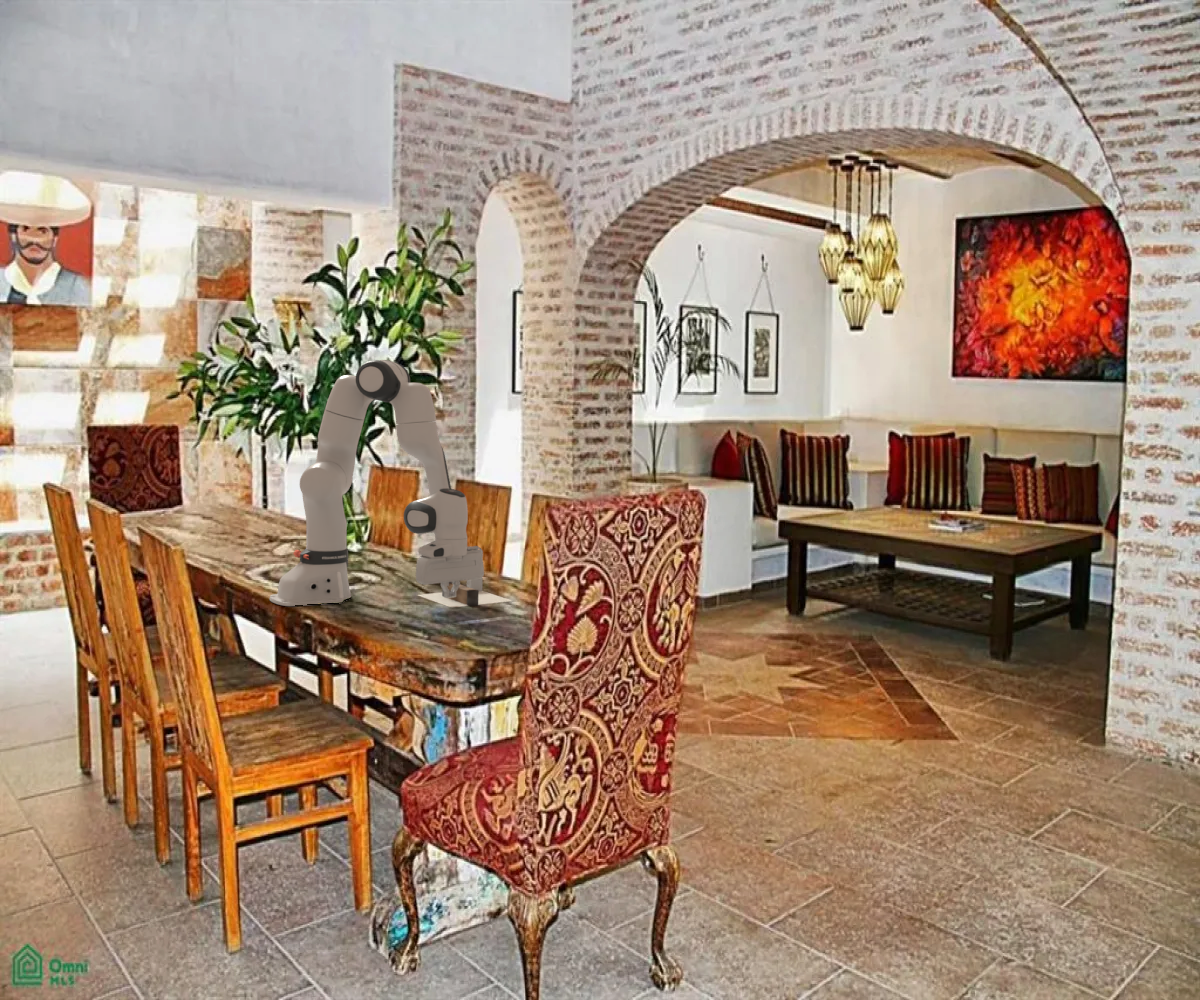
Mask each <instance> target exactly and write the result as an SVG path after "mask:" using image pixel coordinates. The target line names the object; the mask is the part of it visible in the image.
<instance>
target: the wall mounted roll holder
mask: <svg viewBox="0 0 1200 1000" xmlns="http://www.w3.org/2000/svg"><path fill="white" fill-rule="evenodd" d="M483 578H484V577H482V578H481V579H473V580H466V587H469V588H472V589H475V590H478V591H479V594H478V605H477V606H480V605H488V604H489V605H490V604H498V603H507V602H508V603H509V602H513V600H512V599H510V598H509V599H508V598H505V597H502V596H499V595H496V594H493V593H490V592H487V591H484V590H483ZM449 583H452V582H449ZM417 596H418V597H421V598H423V599H426V600H429V601H432V602H435V603H436V604H437V603H438V604H440V605H443V606H446V607H448V608H461V607H469V606H468V605H466V604H463V603H460V602H457V601H454V600H451V599H449V598H445V597H444V591H443V589H442V588H441V592H434V593H424V594H417Z"/></svg>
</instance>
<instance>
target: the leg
mask: <svg viewBox="0 0 1200 1000" xmlns="http://www.w3.org/2000/svg"><path fill="white" fill-rule="evenodd" d="M447 587H448V589H449V590H451V589H452V587H453V584H452V583H449V586H447ZM478 594H479V591H478V590H475V589H472V588H469V587H467V585H463V584H460V586H459V588H458V590H457V591H456V597H452V598H449V599H451V600H454V601H457V602H460V603H463V604H466V605H468V606H467V607H470V606H471V607H477V606H479V605H478Z"/></svg>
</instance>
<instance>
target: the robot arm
mask: <svg viewBox="0 0 1200 1000" xmlns="http://www.w3.org/2000/svg"><path fill="white" fill-rule="evenodd" d="M373 401H380V402H384V403H389V404H391V405H392V407H393V409H394V415H395V417H394V418H395V426H396V428H395V429H396V437H397V441H398V444H399V446H400V448H401V449H402V450H403V451H404V452H405V453H407V454H408V455H409V456H412V457H414V458H416V459H417V460H418V461H419V462H420V463H421V464H422V465H423V467H424V470H425V475H426V480H427V485H428V492H429V496H426V497H424V498H420V499H417V500H414V501H411V502H409V503H408V504H407V505H406V506H405V509H404V512H403V522H404V524H405V527H406V528H407V530H409V531H410V532H411V533H412V534H417V535H424V534H425V535H426V534H433V535H434V540H433V541H431V542H428V543H427V544H425V545H422V546H420V547H419V548H418V555H419V557H418V558H417V561H416V566H415V567H416V568H415V581H416V582H417V583H418V584H421V585H432V584H433V585H434V584H436V583H439V584H440V587H441V590H442V589H443V591H444V597H445V598H452V597H456V591H457V590H458V588H459V586H460V585H461V581H467V580H473V579H481V578H484V575H485V570H484V569H485V568H484V560H483V557H484V551H483V549H482V548H481V547H479V546H478V545H474V546H469V545H468V534H467V525H468V523H469V522H468V518H469V517H468V515H469V514H468V513H469V512H468V510H469V509H468V501H467V497H466V495H465V493H464V492H462V491H460V490H457V489H453V488H451V482H450V481H451V480H450V476H449V471H448V465H447V459H446V456H445V455H446V454H445V452H444V448H443V446H442V443H441V442H440V438H439V433H438V427H437V418H436V411H435V410H436V409H435V404H434V400H433V397H432V393H431V391H430V389H429V386H427V385H425V384H423V383H420V382H411V376H410V374H409V372H408V370H407V369H406V368H405V367H404V366H403V365H402V364H400V363H398V362H395V361H392V360H388V359H372V360H368V361H365V362H364V363H363V364H362V365H361V366H359V368H358V369H357V371H356V374H355V375H352V374H346V375H341V376H339V377H338V378H337V379H336V381H335V383H334V385H333V387H332V389H331V391H330V394H329V396H328V398H327V401H326V405H325V409H324V412H323V415H322V419H321V424H320V427H319V431H318V434H317V439H318V440H317V441H318V442H317V455H316V460H315V463H313V464H311V465H308V467H306V468H305V470H304V471H303V472H302V475H301V476H300V479H299V489H300V491H301V495H302V502H303V509H304V513H305V514H304V515H305V523H306V525H305V526H306V528H305V529H306V535H305V536H306V538H305V539H306V541H305V542H306V544H305V545H306V548H305V549H304V550H299V549H295V550H294V552H293V553H292V554H293V555H294V557H295V558H299V562H298V563H297V564H296V565H295V566H294V567H292V568H291V569H289V571H287V572H286V573H285V574H283V575H282V576H281V577H280V579H279V582H278V588H277V593H275V594H274V593H273V594H270V595H269V601H270V602H271V603H274V604H276V605H280V606H285V607H296V606H295V605H303V606H308V605H307V604H318V603H332V602H342V601H343V600H344V599H347V598H350V597H351V596H352V593H351V589H350V588H351V587H350V585H349V576H348V567H349V550H348V548H347V530H348V529H347V519H346V515H345V509H344V503H343V502H344V501H343V495H346V493H347V492H348V491H349V489H350V487H351V486H352V482H353V476H354V471H355V464H356V457H357V450H358V445H359V440H360V436H361V433H362V430H363V425H364V421H365V419H366V418H365V417H366V414H367V410H368V408H369V406H370V404H371V403H372V402H373ZM449 582H452V584H453V587H452V589H451V590H449V589H448V587H447V586H449Z"/></svg>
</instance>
